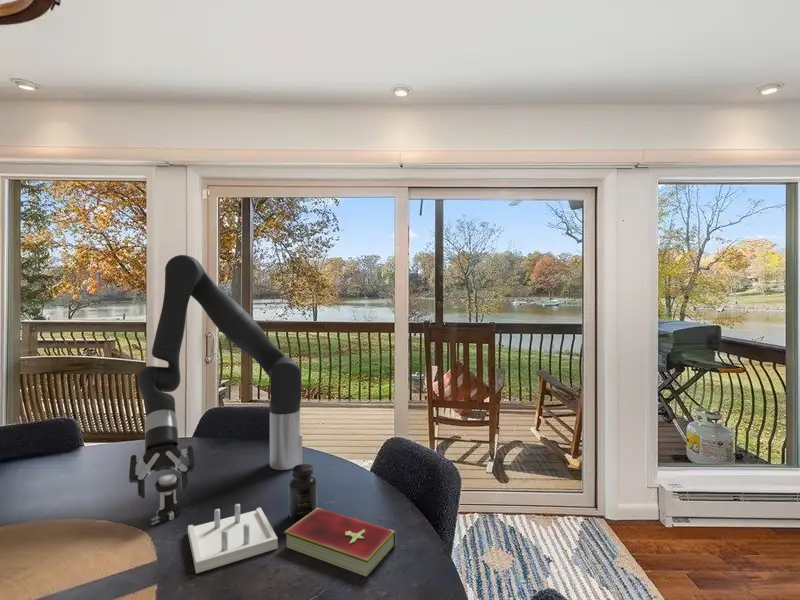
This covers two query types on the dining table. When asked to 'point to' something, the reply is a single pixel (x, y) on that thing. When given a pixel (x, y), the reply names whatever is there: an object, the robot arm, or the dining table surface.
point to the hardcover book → (341, 540)
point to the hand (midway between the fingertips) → (163, 492)
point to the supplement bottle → (302, 492)
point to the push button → (167, 498)
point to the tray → (230, 539)
